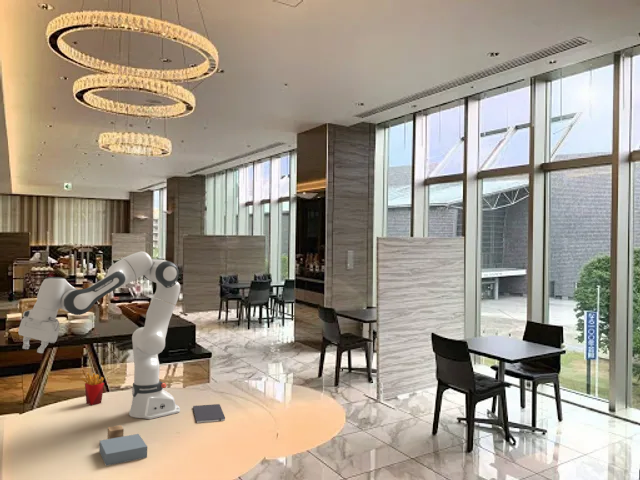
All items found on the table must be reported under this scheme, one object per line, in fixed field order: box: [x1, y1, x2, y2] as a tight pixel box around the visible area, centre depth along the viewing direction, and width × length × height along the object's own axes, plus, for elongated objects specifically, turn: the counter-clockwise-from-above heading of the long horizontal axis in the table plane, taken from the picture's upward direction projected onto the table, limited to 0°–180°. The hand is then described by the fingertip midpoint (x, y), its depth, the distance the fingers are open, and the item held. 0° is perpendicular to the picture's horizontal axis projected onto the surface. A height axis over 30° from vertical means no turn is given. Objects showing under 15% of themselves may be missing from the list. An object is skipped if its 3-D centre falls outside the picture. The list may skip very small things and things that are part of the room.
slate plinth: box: [98, 433, 148, 467], centre depth 179 cm, size 14×14×4 cm
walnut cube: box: [106, 424, 125, 439], centre depth 191 cm, size 5×5×5 cm
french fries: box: [81, 372, 105, 406], centre depth 235 cm, size 9×8×15 cm
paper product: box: [192, 403, 226, 424], centre depth 225 cm, size 13×2×21 cm
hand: (32, 350), depth 190 cm, fingers open, 8 cm apart
